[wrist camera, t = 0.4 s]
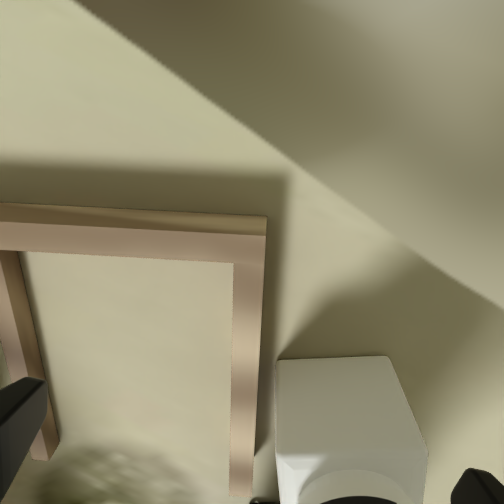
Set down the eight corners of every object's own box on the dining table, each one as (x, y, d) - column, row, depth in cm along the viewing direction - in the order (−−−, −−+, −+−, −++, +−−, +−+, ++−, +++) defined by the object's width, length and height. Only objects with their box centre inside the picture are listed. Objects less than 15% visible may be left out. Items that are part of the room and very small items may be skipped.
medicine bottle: (282, 439, 28) (287, 673, 17) (274, 357, 25) (274, 574, 14) (385, 436, 27) (460, 678, 16) (389, 352, 24) (484, 575, 13)
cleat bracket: (253, 457, 28) (251, 497, 26) (39, 441, 29) (15, 478, 26) (267, 216, 21) (265, 236, 18) (-20, 201, 22) (-63, 218, 19)
